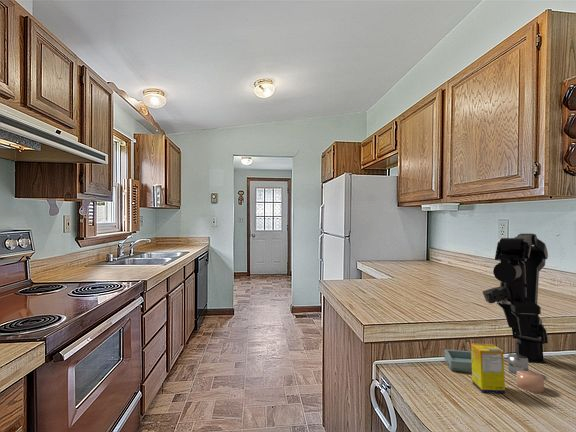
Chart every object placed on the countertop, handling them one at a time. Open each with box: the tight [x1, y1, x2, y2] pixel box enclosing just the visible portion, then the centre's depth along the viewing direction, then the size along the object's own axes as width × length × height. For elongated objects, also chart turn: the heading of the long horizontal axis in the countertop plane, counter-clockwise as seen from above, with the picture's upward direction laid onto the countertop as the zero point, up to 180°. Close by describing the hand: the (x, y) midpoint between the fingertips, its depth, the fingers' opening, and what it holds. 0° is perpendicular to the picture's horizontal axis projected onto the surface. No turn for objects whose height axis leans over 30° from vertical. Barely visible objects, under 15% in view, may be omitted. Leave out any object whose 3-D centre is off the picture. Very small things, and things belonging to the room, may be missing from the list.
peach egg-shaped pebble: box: [516, 370, 545, 394], centre depth 90 cm, size 6×6×4 cm
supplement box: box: [470, 343, 506, 394], centre depth 91 cm, size 6×6×11 cm
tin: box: [507, 353, 530, 376], centre depth 101 cm, size 5×5×4 cm
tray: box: [444, 348, 472, 373], centre depth 105 cm, size 11×11×3 cm
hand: (516, 331), depth 101 cm, fingers open, 9 cm apart
